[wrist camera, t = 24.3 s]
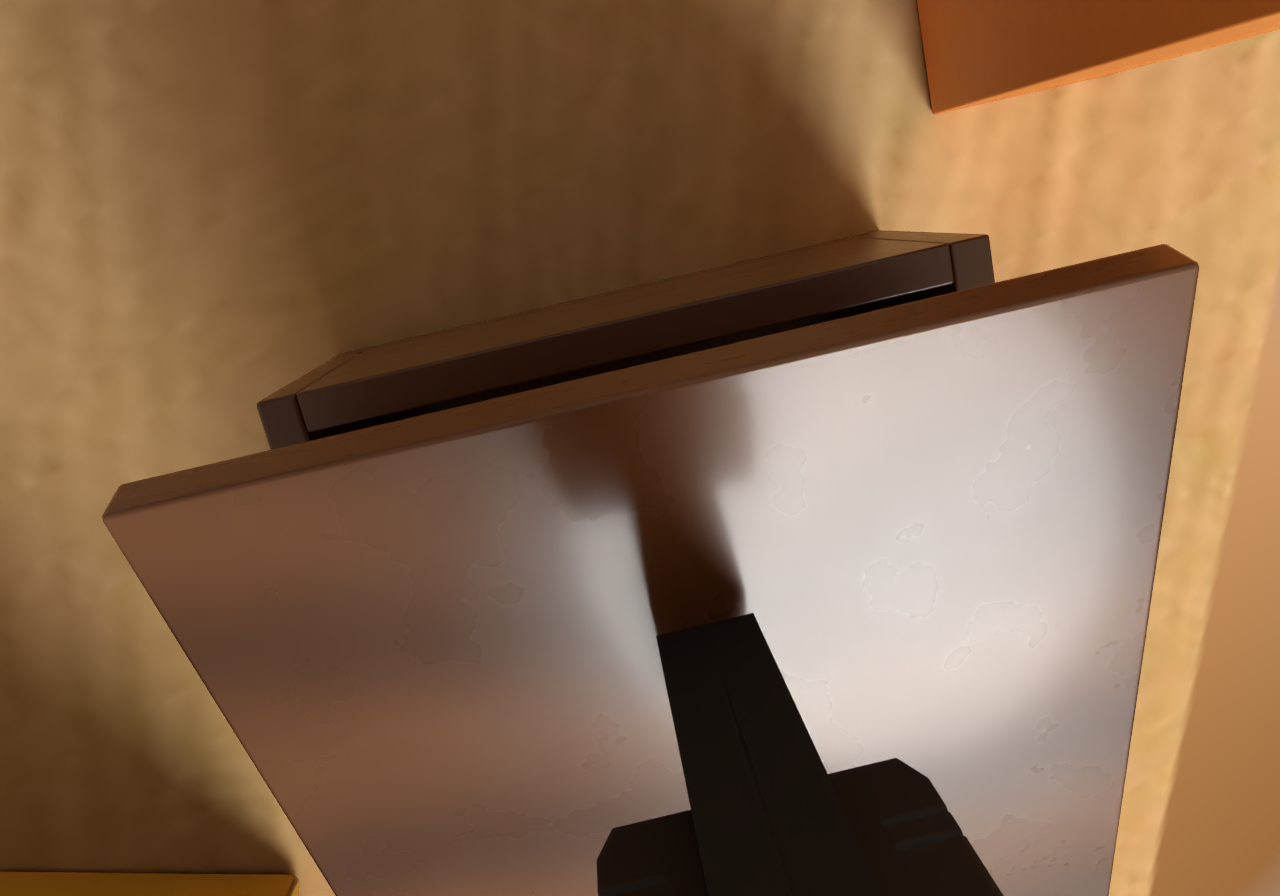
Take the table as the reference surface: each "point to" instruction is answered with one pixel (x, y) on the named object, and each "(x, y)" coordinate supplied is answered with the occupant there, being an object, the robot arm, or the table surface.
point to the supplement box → (145, 884)
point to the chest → (623, 330)
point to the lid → (702, 583)
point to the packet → (1067, 40)
